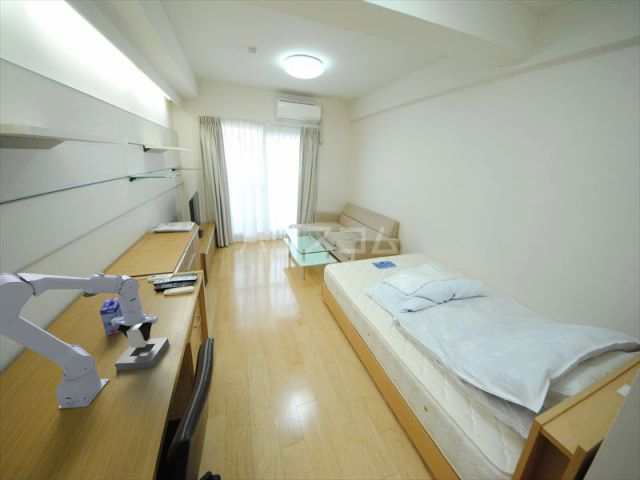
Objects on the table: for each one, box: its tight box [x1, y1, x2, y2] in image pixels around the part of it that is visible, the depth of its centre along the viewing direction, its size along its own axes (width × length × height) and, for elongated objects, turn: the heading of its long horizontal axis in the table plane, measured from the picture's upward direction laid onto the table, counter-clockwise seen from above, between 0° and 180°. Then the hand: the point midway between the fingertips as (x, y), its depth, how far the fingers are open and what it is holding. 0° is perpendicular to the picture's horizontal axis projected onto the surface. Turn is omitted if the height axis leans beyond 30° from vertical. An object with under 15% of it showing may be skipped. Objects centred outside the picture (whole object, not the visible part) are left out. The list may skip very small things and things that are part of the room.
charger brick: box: [127, 323, 152, 348], centre depth 89 cm, size 5×4×7 cm
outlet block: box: [114, 337, 170, 371], centre depth 91 cm, size 12×12×3 cm
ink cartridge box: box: [99, 296, 123, 336], centre depth 104 cm, size 10×6×14 cm, turn 29°
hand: (140, 339), depth 89 cm, fingers closed on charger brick, 4 cm apart
